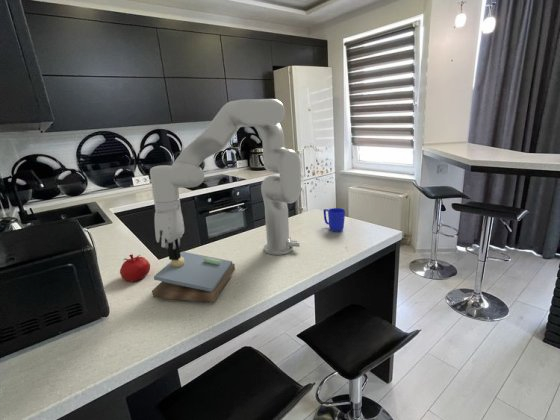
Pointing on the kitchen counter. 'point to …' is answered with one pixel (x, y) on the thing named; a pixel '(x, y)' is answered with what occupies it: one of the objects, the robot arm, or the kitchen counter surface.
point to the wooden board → (190, 290)
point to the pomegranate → (134, 268)
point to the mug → (335, 218)
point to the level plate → (194, 271)
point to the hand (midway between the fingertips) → (175, 258)
